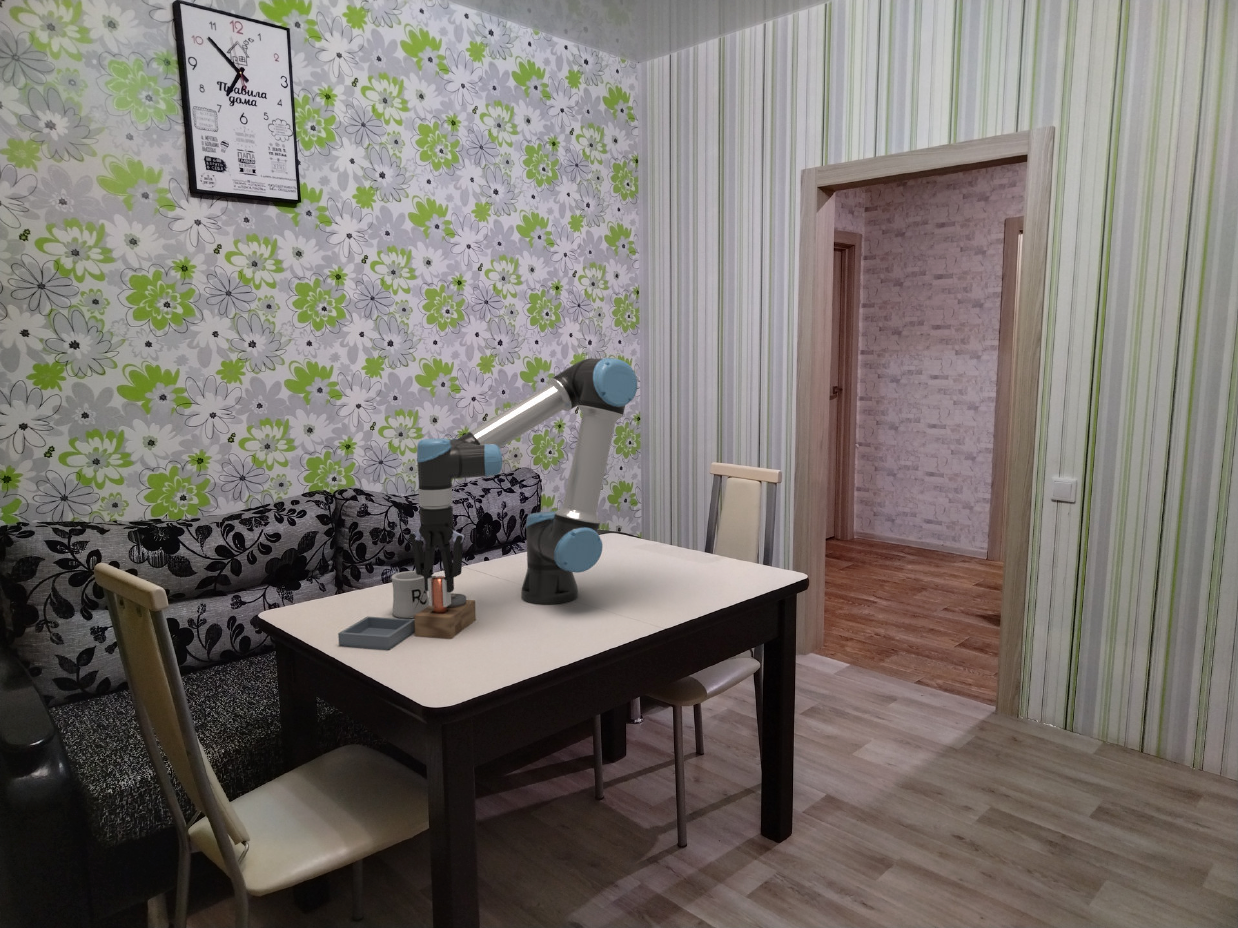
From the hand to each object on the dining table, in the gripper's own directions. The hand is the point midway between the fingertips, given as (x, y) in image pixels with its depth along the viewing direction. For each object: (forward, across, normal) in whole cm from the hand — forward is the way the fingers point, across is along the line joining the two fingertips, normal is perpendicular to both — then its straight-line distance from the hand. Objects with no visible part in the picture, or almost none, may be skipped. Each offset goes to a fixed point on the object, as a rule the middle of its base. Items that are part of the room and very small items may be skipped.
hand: (440, 604), depth 193 cm
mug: (+7, +13, -13) cm, 20 cm away
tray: (+7, +12, +8) cm, 16 cm away
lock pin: (+7, 0, 0) cm, 7 cm away
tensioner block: (+7, 0, -3) cm, 7 cm away
